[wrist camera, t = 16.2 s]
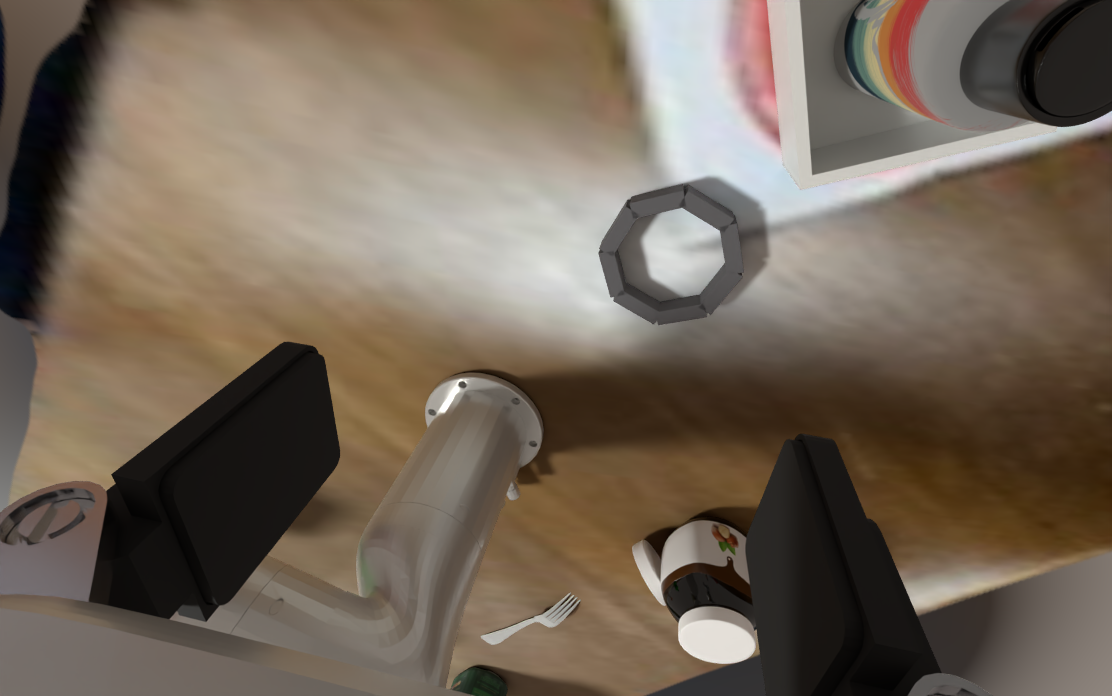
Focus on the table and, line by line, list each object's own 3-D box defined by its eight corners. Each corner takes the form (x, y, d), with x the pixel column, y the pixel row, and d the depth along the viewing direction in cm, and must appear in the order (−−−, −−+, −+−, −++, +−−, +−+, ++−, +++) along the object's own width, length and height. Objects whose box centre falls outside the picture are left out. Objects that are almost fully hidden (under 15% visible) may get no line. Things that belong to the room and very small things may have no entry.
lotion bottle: (885, -40, 30) (1142, -118, 13) (961, 20, 31) (1294, 16, 14) (810, 58, 33) (941, 95, 16) (880, 110, 34) (1075, 196, 17)
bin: (994, 113, 33) (1056, 131, 28) (782, 165, 37) (800, 189, 32) (1014, -135, 27) (1097, -174, 22) (762, -43, 31) (779, -57, 26)
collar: (746, 299, 43) (749, 309, 41) (622, 321, 46) (619, 331, 45) (728, 172, 38) (730, 178, 36) (591, 206, 41) (587, 213, 40)
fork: (483, 619, 80) (476, 637, 78) (570, 587, 68) (565, 607, 66) (497, 628, 81) (491, 647, 79) (586, 598, 69) (581, 619, 66)
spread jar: (772, 543, 56) (791, 651, 47) (704, 589, 62) (708, 693, 53) (680, 489, 55) (680, 589, 45) (620, 541, 61) (608, 639, 51)
